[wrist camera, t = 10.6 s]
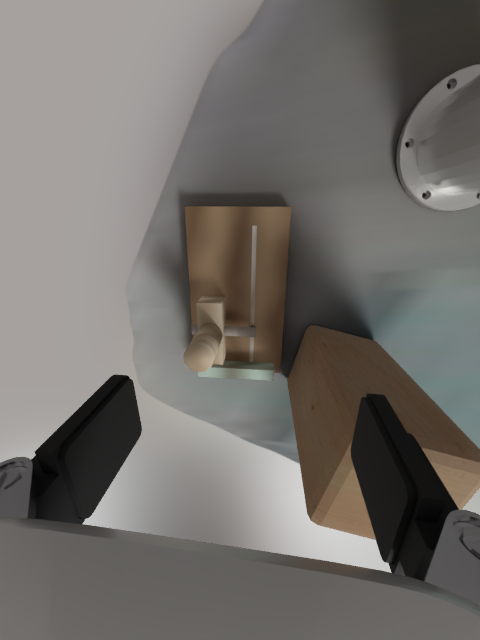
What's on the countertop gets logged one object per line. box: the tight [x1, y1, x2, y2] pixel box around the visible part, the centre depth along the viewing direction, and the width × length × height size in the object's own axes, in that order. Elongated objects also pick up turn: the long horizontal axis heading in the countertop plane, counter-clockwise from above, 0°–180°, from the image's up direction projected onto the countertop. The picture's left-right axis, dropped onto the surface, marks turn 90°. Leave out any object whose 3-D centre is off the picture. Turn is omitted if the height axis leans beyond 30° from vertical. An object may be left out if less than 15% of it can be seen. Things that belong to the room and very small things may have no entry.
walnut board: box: [185, 206, 292, 380], centre depth 33 cm, size 12×21×4 cm, turn 0°
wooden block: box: [287, 325, 480, 540], centre depth 28 cm, size 10×10×20 cm
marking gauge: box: [184, 296, 256, 372], centre depth 30 cm, size 8×8×9 cm
